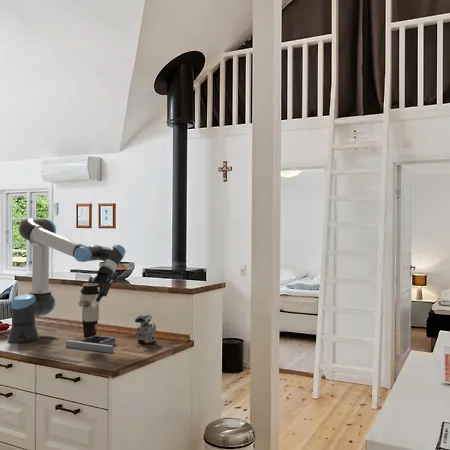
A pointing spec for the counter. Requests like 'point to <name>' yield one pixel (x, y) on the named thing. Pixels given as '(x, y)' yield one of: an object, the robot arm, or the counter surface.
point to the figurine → (145, 329)
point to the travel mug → (89, 302)
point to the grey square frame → (100, 340)
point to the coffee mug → (89, 328)
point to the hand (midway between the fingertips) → (85, 305)
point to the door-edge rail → (89, 346)
